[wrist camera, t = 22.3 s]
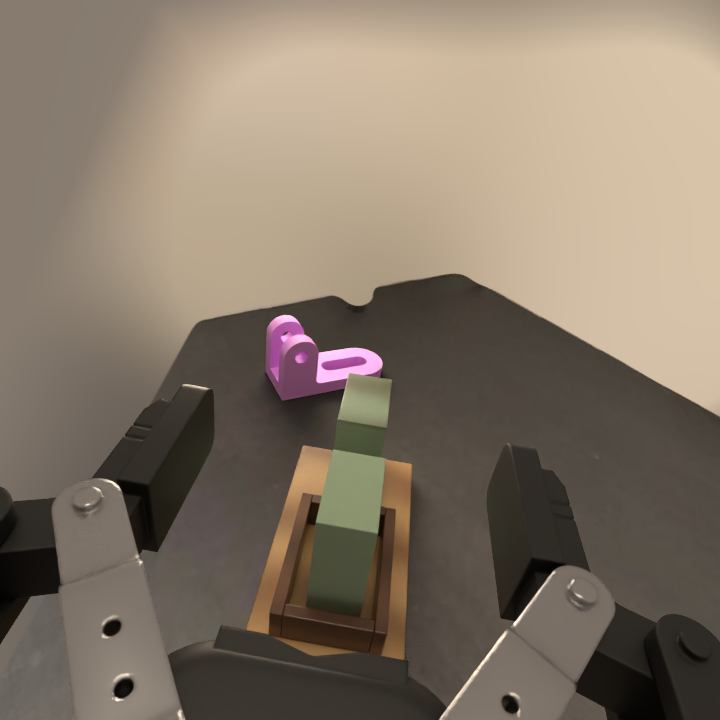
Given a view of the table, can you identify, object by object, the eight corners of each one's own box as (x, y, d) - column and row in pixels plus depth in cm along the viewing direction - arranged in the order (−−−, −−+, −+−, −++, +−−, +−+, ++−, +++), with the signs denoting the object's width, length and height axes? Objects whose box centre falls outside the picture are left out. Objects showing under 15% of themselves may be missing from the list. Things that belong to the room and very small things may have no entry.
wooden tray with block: (399, 685, 32) (434, 584, 26) (241, 655, 32) (241, 549, 26) (409, 475, 47) (432, 382, 41) (302, 456, 47) (310, 362, 41)
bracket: (282, 400, 53) (285, 344, 50) (265, 371, 57) (267, 317, 54) (389, 379, 59) (399, 327, 55) (367, 354, 63) (375, 304, 59)
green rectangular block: (358, 624, 33) (378, 533, 28) (304, 614, 33) (315, 522, 28) (367, 546, 38) (386, 458, 33) (321, 538, 38) (333, 448, 33)
